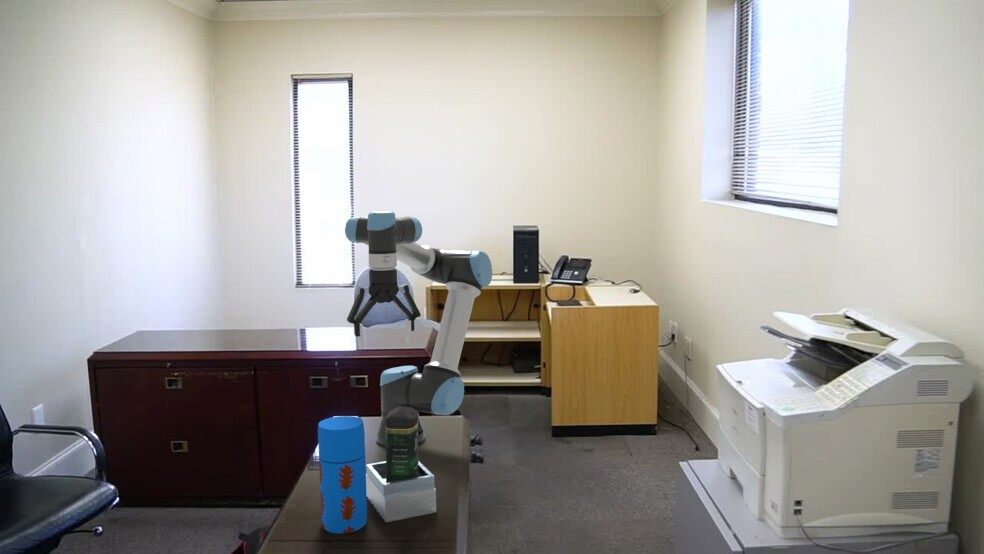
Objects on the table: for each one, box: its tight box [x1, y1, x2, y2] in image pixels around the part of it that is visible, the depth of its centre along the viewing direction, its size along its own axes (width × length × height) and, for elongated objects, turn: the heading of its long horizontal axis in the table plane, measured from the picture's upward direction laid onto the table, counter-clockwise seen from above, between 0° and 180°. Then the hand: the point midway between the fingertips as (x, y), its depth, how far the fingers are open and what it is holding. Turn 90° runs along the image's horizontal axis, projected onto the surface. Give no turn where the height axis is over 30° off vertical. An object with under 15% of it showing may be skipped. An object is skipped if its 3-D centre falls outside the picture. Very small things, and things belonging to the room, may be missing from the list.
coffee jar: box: [385, 407, 419, 483], centre depth 193 cm, size 10×8×19 cm
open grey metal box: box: [366, 460, 437, 523], centre depth 193 cm, size 13×17×9 cm
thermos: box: [317, 415, 368, 534], centre depth 182 cm, size 11×11×25 cm
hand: (385, 345), depth 210 cm, fingers open, 13 cm apart
